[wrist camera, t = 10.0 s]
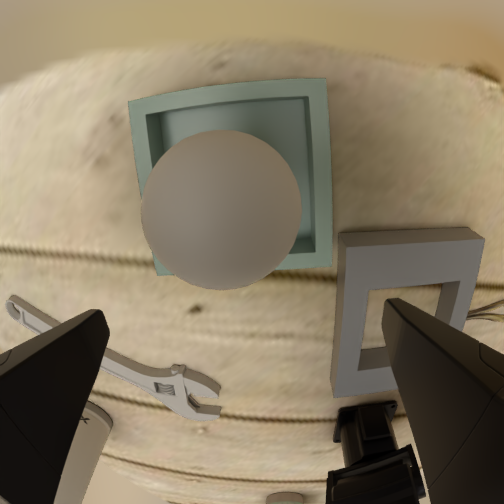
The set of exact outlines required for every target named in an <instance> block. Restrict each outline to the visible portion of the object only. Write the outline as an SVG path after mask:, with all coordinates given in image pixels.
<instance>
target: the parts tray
mask: <svg viewBox="0 0 504 504" xmlns="http://www.w3.org/2000/svg"><path fill="white" fill-rule="evenodd" d="M128 107H129V116H130V125H131V133H132V141H133V148H134V156H135V162H136V169H137V175H138V182H139V188H140V194H141V199H142V197H143V191H144V187H145V184H146V182H147V179H148V177H149V174H150V173H151V171H152V169H153V168H154V166H155V165H156V163H157V162H158V160H159V159H160V158H161V157H162V156H163V155H164V154H165V153H166V152H167V151H168V150H169V149H170V148H171V147H172V146H174V145H175V144H177V143H178V142H180V141H181V140H183V139H184V138H187V137H189V136H192V135H195V134H197V133H200V132H206V131H213V130H235V131H239V132H243V133H246V134H250V135H252V136H254V137H256V138H258V139H260V140H262V141H264V142H266V143H267V144H268V145H270V146H271V147H272V148H273V149H275V150H276V151H277V152H278V153H279V154H280V155H281V156H282V158H283V159H284V160H285V161H286V162H287V164H288V165H289V167H290V169H291V171H292V173H293V175H294V177H295V178H296V181H297V184H298V188H299V191H300V194H301V204H302V215H301V223H300V228H299V231H298V234H297V236H296V239H295V242H294V245H293V246H292V248H291V250H290V251H289V253H288V255H287V256H286V258H285V259H284V260H283V261H282V262H281V263H280V264H279V265H278V266H277V268H276V269H274V270H284V269H301V268H317V267H332V170H331V145H330V127H329V112H328V98H327V86H326V78H303V79H278V80H262V81H250V82H239V83H230V84H222V85H214V86H207V87H200V88H193V89H187V90H181V91H176V92H170V93H165V94H160V95H155V96H150V97H146V98H141V99H137V100H133V101H128ZM152 255H153V259H154V264H155V268H156V272H157V276H164V275H174V274H173V273H171V272H170V271H169V270H168V269H167V268H166V267H165V266H164V265H163V264H162V263H161V262H160V261H159V260H158V259H157V257H156V256H155V254H154V253H153V252H152Z"/></svg>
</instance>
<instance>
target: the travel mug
mask: <svg viewBox="0 0 504 504" xmlns="http://www.w3.org/2000/svg"><path fill="white" fill-rule="evenodd" d="M112 426H113V424H112V421H111V419H110V417H109V416H108V415H107V414H106V413H105V412H104V411H103V410H102V409H101V408H99V407H98V406H96V405H94V404H92V403H90V402H88V401H87V403H86V406H85V408H84V411H83V414H82V416H81V419H80V422H79V425H78V427H77V430H76V433H75V436H74V439H73V442H72V445H71V448H70V451H69V454H68V457H67V460H66V463H65V466H64V469H63V472H62V475H61V480H60V483H59V487H58V490H57V494H56V497H55V501H54V504H82V501H83V498H84V495H85V493H86V490H87V488H88V485H89V483H90V480H91V477H92V475H93V472H94V470H95V467H96V465H97V462H98V460H99V457H100V455H101V453H102V450H103V448H104V445H105V443H106V440H107V438H108V436H109V433H110V431H111V429H112Z"/></svg>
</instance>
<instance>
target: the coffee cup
mask: <svg viewBox="0 0 504 504" xmlns="http://www.w3.org/2000/svg"><path fill="white" fill-rule="evenodd" d="M266 504H304V503H303V498H302V495H300V494H298V493H292V492H282V493H275V494H272V495H269V496H268V497H267V501H266Z"/></svg>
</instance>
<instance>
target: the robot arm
mask: <svg viewBox="0 0 504 504" xmlns="http://www.w3.org/2000/svg"><path fill="white" fill-rule="evenodd" d="M382 331H383V335H384V339H385V343H386V348H387V352H388V356H389V361H390V365H391V369H392V372H393V375H394V378H395V381H396V384H397V387H398V390H399V393H400V396H401V398H402V402H403V405H404V408H405V411H406V414H407V417H408V420H409V423H410V427H411V430H412V433H413V437H414V440H415V443H416V447H417V450H418V454H419V458H420V461H421V465H422V469H423V472H424V476H425V480H426V484H427V488H428V489H429V490H428V493H429V497H430V502H431V504H504V355H503V354H501V353H500V352H498V351H496V350H494V349H492V348H490V347H488V346H487V345H485V344H483V343H479V341H478V340H476V339H474V338H472V337H470V336H469V335H467V334H465V333H463V332H461V331H459V330H458V329H456V328H454V327H452V326H450V325H448V324H447V323H445V322H443V321H441V320H439V319H437V318H435V317H434V316H432V315H430V314H428V313H426V312H424V311H422V310H420V309H419V308H417V307H415V306H413V305H411V304H409V303H407V302H405V301H404V300H402V299H400V298H391V299H387V300H386V301H385V303H384V310H383V317H382ZM109 336H110V331H109V327H108V325H107V322H106V319H105V316H104V314H103V312H102V311H101V310H99V309H90V310H88V311H86V312H84V313H82V314H80V315H78V316H76V317H74V318H72V319H70V320H68V321H66V322H64V323H62V324H60V325H58V326H56V327H54V328H52V329H50V330H48V331H46V332H44V333H42V334H40V335H38V336H36V337H34V338H32V339H30V340H28V341H26V342H24V343H22V344H20V345H18V346H16V347H14V348H13V349H10V350H8V351H6V352H4V353H2V354H0V504H54V501H55V497H56V494H57V490H58V487H59V483H60V480H61V475H62V472H63V469H64V466H65V463H66V460H67V457H68V454H69V451H70V448H71V445H72V442H73V439H74V436H75V433H76V430H77V427H78V425H79V422H80V419H81V416H82V414H83V411H84V408H85V406H86V403H87V400H88V398H89V395H90V393H91V390H92V388H93V385H94V383H95V380H96V378H97V375H98V372H99V369H100V366H101V363H102V359H103V356H104V353H105V349H106V346H107V343H108V340H109ZM397 406H398V405H397V402H396V401H390V402H384V403H378V404H372V405H365V406H358V407H350V408H343V409H340V410H339V411H338V415H337V421H336V426H335V431H334V436H333V442H334V443H340V442H341V444H342V450H343V457H344V464H345V468H342V469H339V470H335V471H334V470H332V471H328V478H327V488H326V503H325V504H420V503H419V499H421V498H424V497H426V493H425V489H424V484H423V481H422V477H421V473H420V470H419V467H418V464H417V460H416V457H415V454H414V451H413V448H412V445H411V444H409V445H406V447H403V448H401V449H399V448H398V445H397V441H396V438H395V434H394V431H393V427H392V424H391V421H392V419H393V416H394V414H395V411H396V408H397ZM410 466H412V467H410Z"/></svg>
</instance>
